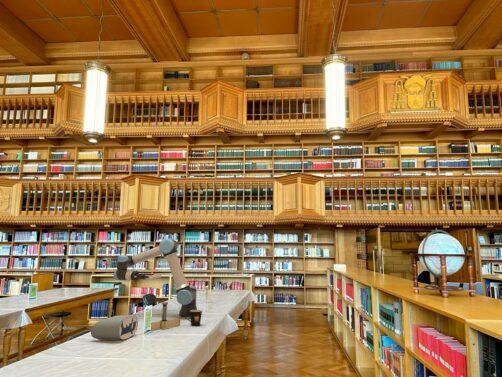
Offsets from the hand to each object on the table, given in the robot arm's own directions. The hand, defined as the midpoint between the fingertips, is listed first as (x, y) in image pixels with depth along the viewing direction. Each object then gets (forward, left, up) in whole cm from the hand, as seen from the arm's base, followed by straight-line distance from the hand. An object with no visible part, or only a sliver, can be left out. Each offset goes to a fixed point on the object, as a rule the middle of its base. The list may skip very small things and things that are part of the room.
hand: (157, 276), depth 295 cm
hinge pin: (+15, +33, -32) cm, 48 cm away
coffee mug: (-6, +39, -32) cm, 51 cm away
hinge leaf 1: (+20, +33, -32) cm, 50 cm away
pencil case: (+52, +35, -32) cm, 70 cm away
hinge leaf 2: (+9, +33, -32) cm, 47 cm away
